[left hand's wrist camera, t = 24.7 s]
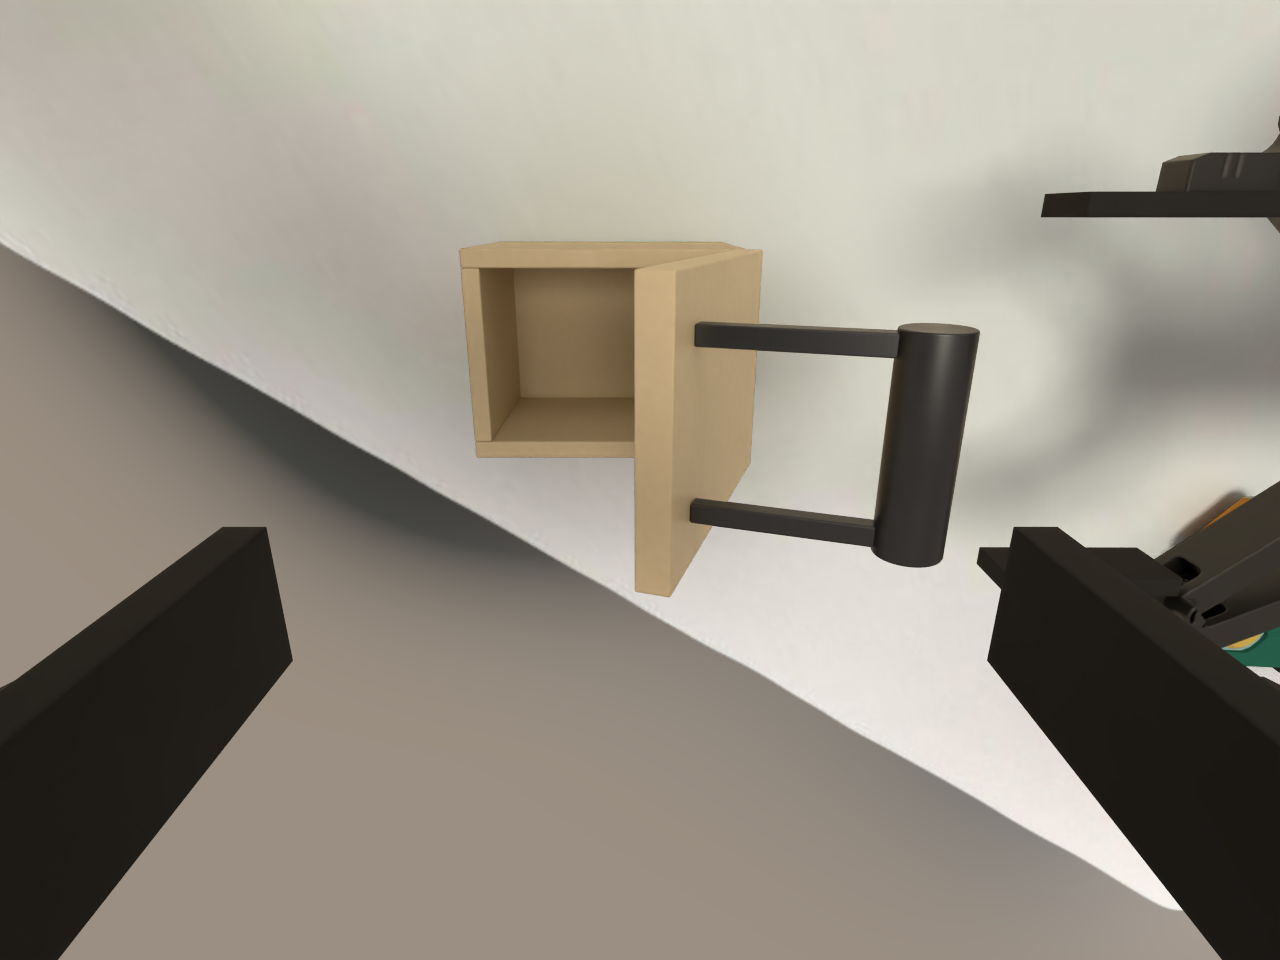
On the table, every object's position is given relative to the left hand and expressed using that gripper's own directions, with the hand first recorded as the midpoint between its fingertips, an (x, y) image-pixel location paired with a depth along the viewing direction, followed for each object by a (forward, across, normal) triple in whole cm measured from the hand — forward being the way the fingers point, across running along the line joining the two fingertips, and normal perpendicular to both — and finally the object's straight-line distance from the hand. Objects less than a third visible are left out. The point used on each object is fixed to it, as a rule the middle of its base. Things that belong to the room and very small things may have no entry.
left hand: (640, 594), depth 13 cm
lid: (+16, +2, 0) cm, 16 cm away
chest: (+33, -2, 0) cm, 33 cm away
